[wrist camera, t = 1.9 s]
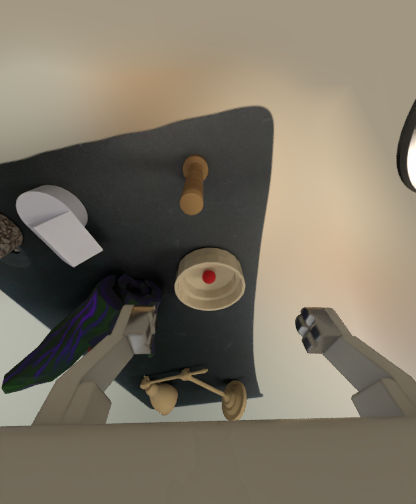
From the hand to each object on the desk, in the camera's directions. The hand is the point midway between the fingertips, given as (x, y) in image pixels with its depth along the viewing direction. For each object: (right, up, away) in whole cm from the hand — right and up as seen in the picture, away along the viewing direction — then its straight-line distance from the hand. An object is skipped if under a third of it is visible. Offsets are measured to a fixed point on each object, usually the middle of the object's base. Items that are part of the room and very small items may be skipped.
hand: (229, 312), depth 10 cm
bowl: (-1, -1, +33) cm, 33 cm away
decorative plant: (-24, -9, +39) cm, 46 cm away
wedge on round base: (-28, +10, +24) cm, 38 cm away
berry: (-1, -2, +31) cm, 31 cm away
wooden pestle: (-3, +17, +19) cm, 26 cm away
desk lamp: (-9, -56, +74) cm, 93 cm away
